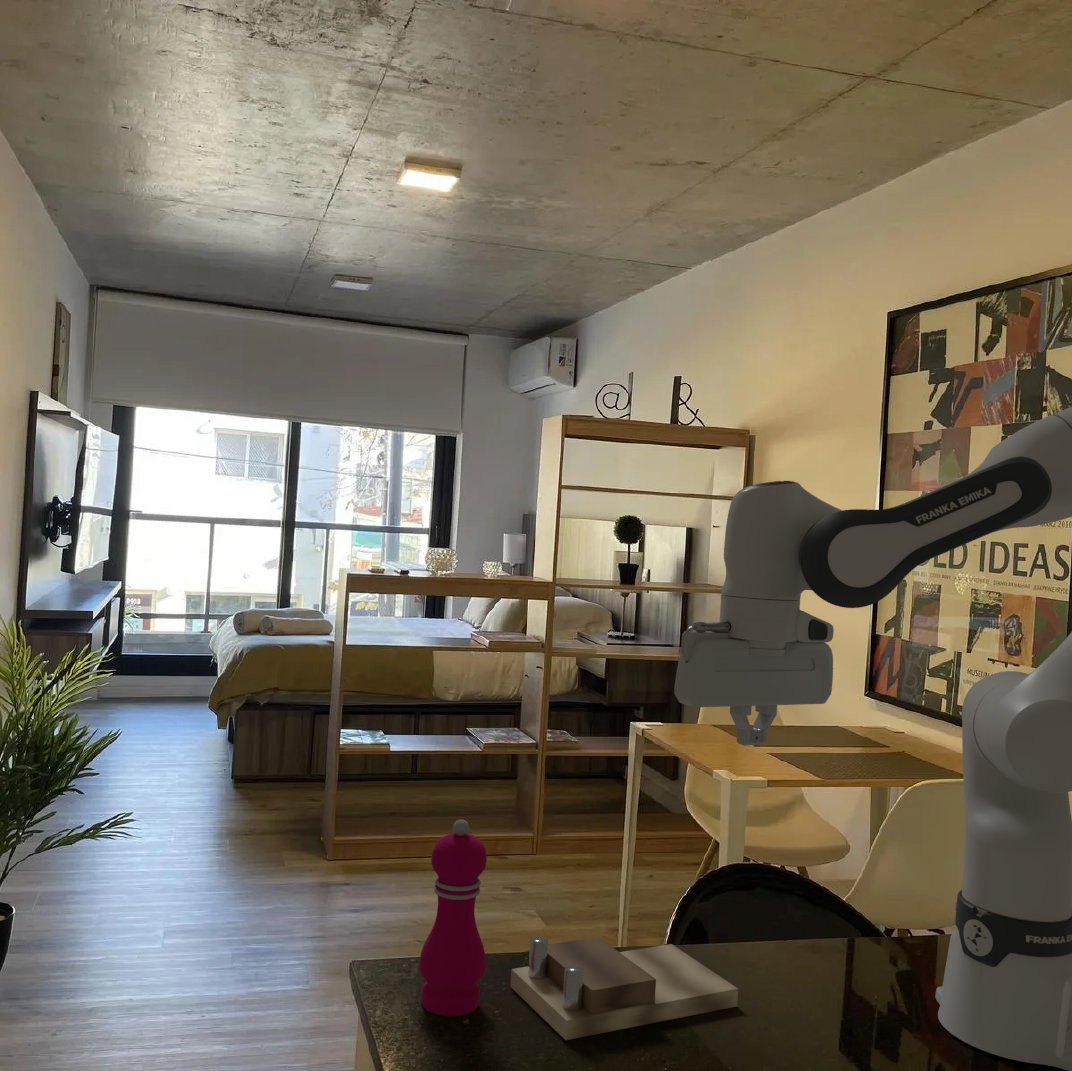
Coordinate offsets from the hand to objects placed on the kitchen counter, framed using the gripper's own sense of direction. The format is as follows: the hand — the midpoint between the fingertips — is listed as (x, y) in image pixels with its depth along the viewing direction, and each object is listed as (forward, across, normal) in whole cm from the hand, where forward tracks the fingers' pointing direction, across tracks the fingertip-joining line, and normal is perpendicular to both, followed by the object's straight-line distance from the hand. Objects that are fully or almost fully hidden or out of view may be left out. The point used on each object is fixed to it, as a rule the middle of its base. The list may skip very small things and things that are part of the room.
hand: (751, 744), depth 116 cm
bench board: (+29, -12, +5) cm, 32 cm away
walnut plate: (+27, -16, +5) cm, 32 cm away
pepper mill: (+29, -31, +10) cm, 44 cm away
